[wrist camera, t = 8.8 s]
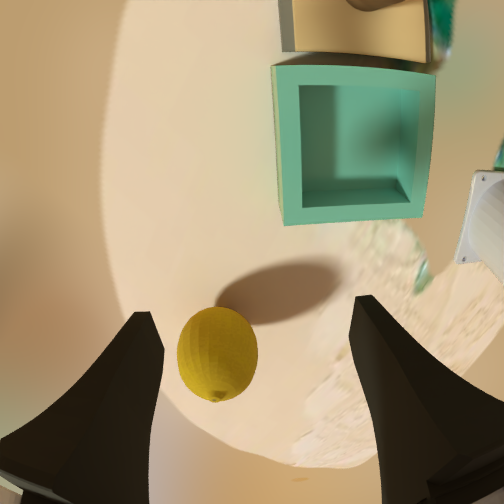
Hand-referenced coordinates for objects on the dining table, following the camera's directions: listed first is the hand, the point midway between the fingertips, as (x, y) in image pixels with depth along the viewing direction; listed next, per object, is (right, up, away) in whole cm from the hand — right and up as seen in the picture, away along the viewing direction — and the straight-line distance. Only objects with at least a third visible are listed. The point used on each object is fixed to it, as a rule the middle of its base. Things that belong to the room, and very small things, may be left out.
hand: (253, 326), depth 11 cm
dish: (+5, +9, +6) cm, 13 cm away
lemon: (-3, -2, +14) cm, 14 cm away
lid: (+6, +17, +1) cm, 18 cm away
